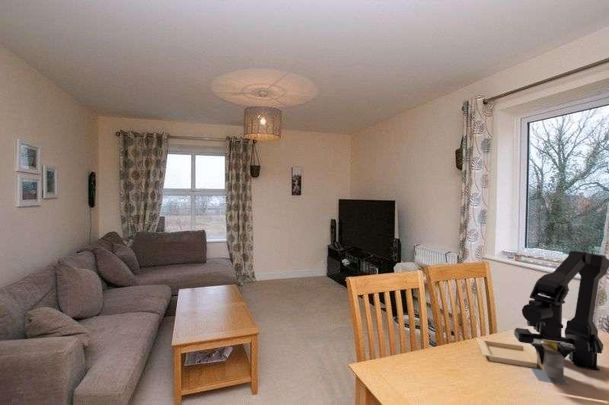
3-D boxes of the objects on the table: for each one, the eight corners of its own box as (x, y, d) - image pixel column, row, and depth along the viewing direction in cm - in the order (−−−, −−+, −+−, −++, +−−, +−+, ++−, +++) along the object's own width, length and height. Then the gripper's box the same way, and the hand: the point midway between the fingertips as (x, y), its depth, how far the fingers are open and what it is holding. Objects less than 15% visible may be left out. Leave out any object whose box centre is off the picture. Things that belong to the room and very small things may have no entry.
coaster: (558, 373, 104) (558, 371, 104) (569, 387, 97) (569, 385, 97) (530, 369, 107) (530, 367, 107) (538, 382, 100) (539, 380, 100)
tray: (530, 352, 119) (530, 346, 119) (543, 370, 106) (544, 363, 106) (476, 344, 125) (476, 338, 125) (483, 361, 112) (483, 354, 112)
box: (551, 364, 106) (551, 343, 105) (563, 379, 97) (563, 357, 97) (536, 362, 107) (537, 341, 107) (547, 376, 98) (547, 354, 98)
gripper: (573, 312, 106) (572, 357, 106) (510, 305, 112) (509, 348, 113) (591, 325, 96) (589, 375, 96) (520, 317, 102) (519, 364, 102)
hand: (549, 364), depth 102 cm, fingers closed on box, 4 cm apart
